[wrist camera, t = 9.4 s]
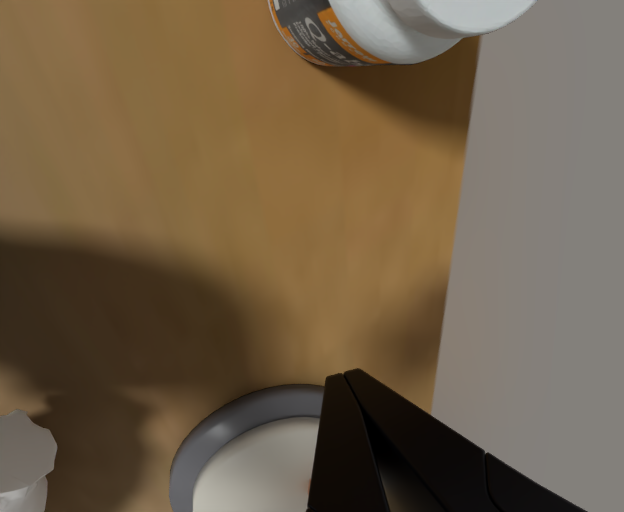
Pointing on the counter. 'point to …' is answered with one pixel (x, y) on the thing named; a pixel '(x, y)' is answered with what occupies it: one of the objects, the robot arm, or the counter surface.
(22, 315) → the counter surface
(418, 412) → the robot arm
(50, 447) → the white bottle
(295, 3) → the pill bottle
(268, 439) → the dial
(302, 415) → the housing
